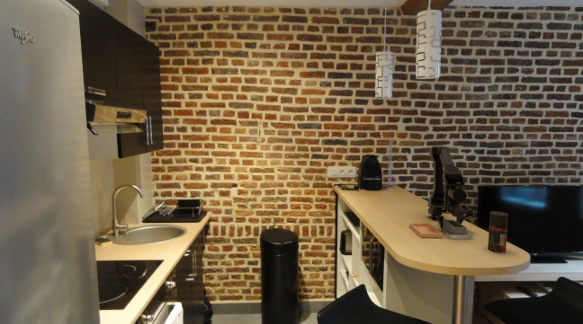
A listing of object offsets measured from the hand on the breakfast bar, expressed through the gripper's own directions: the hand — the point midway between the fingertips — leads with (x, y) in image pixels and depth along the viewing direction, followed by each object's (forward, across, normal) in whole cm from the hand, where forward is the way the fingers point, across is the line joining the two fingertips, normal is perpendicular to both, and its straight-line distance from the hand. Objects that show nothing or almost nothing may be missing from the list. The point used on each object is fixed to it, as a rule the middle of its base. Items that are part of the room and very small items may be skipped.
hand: (449, 229), depth 137 cm
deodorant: (+1, +8, -22) cm, 23 cm away
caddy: (+1, 0, -4) cm, 4 cm away
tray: (+1, -12, -2) cm, 12 cm away
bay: (+1, 0, -6) cm, 6 cm away
